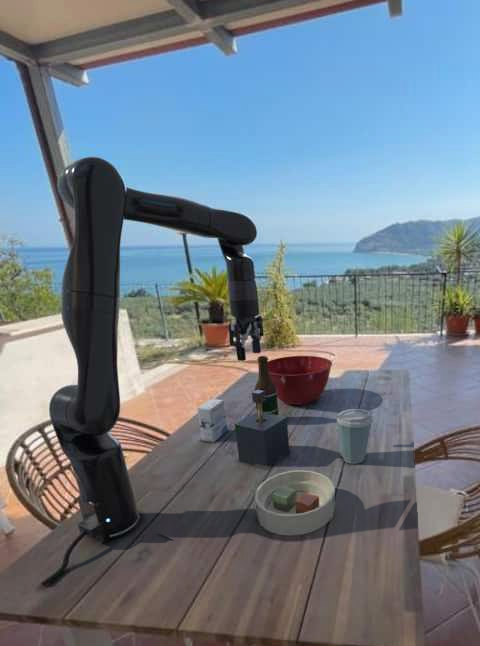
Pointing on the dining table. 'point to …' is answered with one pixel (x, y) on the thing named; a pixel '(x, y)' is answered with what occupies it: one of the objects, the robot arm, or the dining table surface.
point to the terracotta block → (306, 503)
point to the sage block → (284, 498)
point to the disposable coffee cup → (354, 434)
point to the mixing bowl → (299, 378)
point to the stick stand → (262, 439)
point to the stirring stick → (259, 402)
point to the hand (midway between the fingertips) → (249, 356)
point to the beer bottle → (266, 387)
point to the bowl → (291, 521)
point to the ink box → (212, 420)
